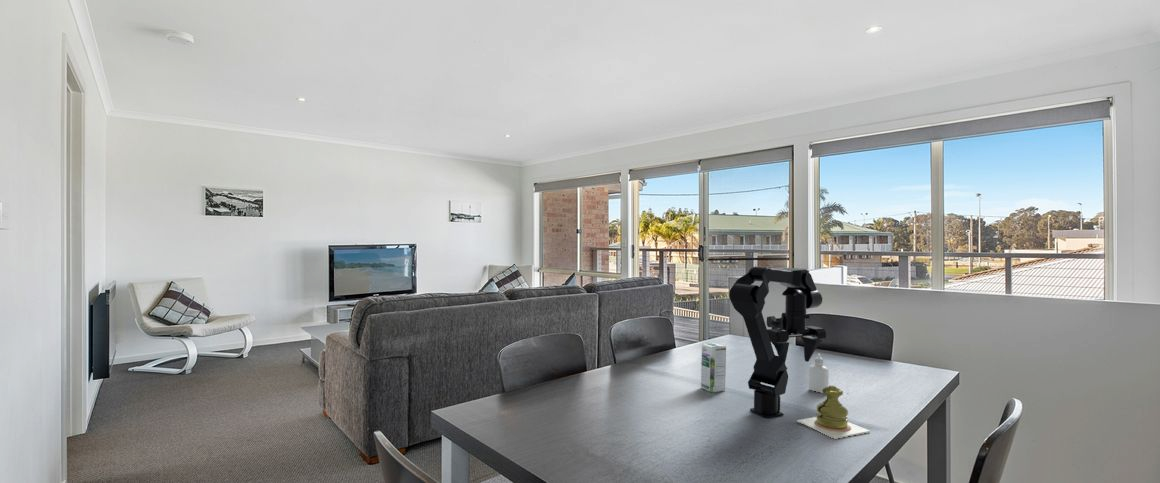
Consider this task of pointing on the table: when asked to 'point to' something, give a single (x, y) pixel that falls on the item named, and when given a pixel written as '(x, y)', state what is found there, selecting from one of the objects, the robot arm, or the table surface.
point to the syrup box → (713, 367)
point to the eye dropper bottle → (818, 375)
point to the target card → (834, 433)
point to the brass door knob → (832, 410)
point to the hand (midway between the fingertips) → (794, 362)
